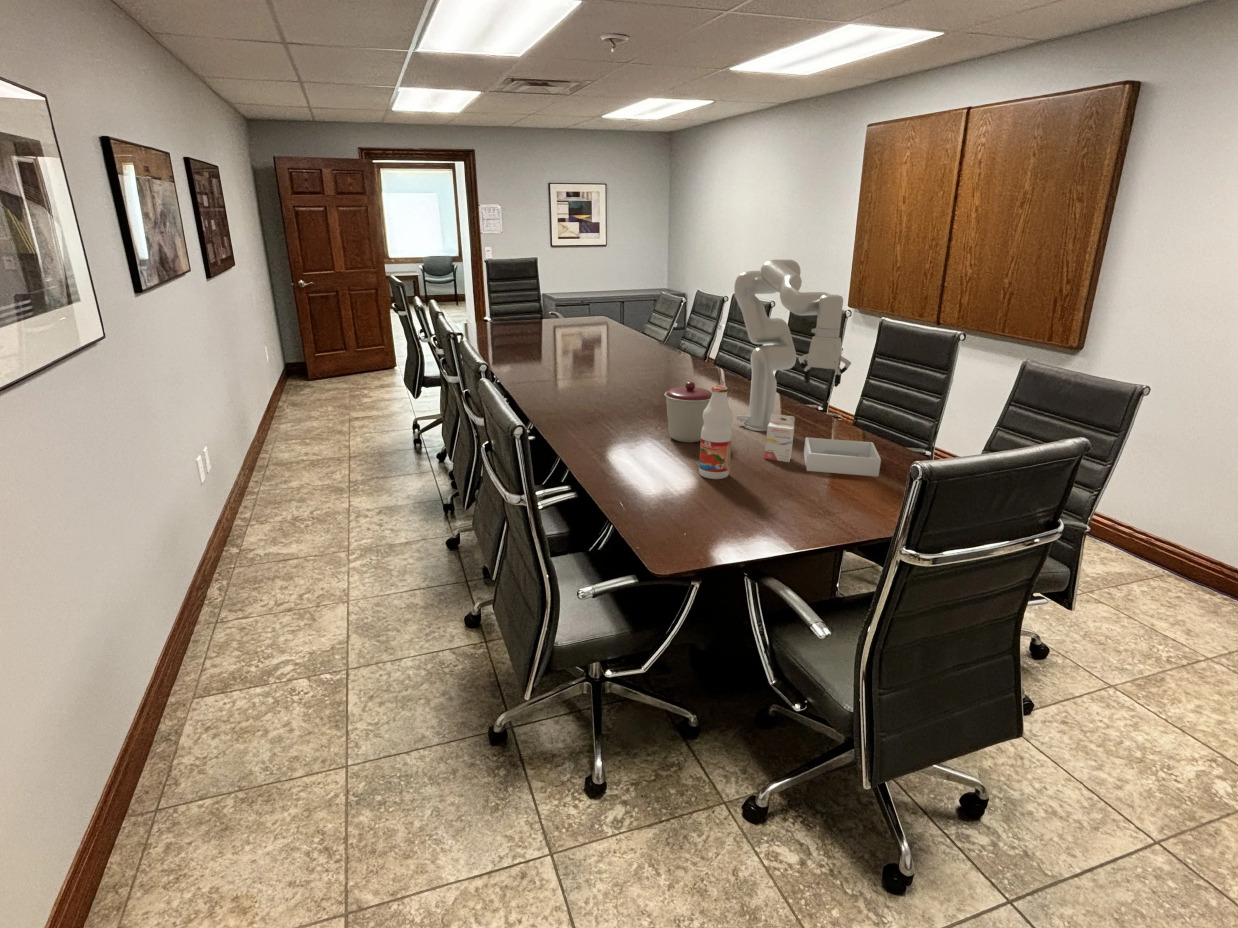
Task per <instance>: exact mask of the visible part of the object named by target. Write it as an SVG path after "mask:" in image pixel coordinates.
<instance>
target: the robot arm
mask: <svg viewBox="0 0 1238 928" xmlns="http://www.w3.org/2000/svg"><path fill="white" fill-rule="evenodd" d="M802 282H803V281H802V278H801V267H800V265H799V263H798V262H797V261H795V260H793V259H770V260H767V261H766V262H764V263H763V264H762V266H761V267H760V270H748V271H743V272H741V273H740V274H739V275H738V276H737V277H736V279H735V281H734V298H735V300H736V302H737V304H738V307H739V308H740V312H741V313H742V317H743V321H744V326H745V329H746V333H747V336H748V339H749V341H750V342H751V343H752V344H754V345H760V346H757V347H755V348H754V349H753V350H752V352H751V353H750V367H751V381H750V382H751V383H750V394H749V406H748V407H749V408H748V413H747V414H744V415H740V414H739V415H738V414H737V415H736V421H739V422H744V423H743V427H744V428H745V429H747V430H751V431H755V432H767V428H768V425H769V423H770V416H771V414H775V407H776V406H775V405H776V398H777V383H778V382H777V379H776V376H775V374H774V371H785V370H789V369H790V370H791V369H792V368H793V367H794V366H795V364H796V361H797V359H798V362H799V363H800V366H801V368H802V370H804V382H805V383H804V384H809V383H810V382H811V377H812V376H811V375H812V370H811V368H817V369H826V370H827V369H828V370H834V372H835V373H836V374H835V375H834V382H833V383H834V384H833V387H835V388H837V387H838V386H839V385H841V381H842V380H841V379H842V374H844V372H846V371H847V370H848V369H849V368H850V366H851V365H852V362H851V361H850V360H848V359H847V358H845V357H844V356H843V355H842V338H841V337H840V331H841V323H842V315H843V306H844V298H843V296H842V295H839V294H830V293H828V292H826V291H825V292H824V291H810V292H809V291H807V292H806V291H805V292H804V291H803V292H801V291H800V289H801V288H802V284H803V283H802ZM776 293H779V298H780V303H781V304H782V306H783V307H784V308H785V309H787V311H789V312H790V313H792V314H793V315H796V316H817V318H816V327H815V328H811V333H813V334H814V336H812V338H811V341H810V346H809V350H808V353H806V354H803V355H801V356H798V358H797V352H796V348H795V345H794V340H793V337H792V334H791V330H790V327H789V324H788V323H787V322H786V321H785V320H784V319H782V318H778V317H768V314H767V312H766V308H765V305H764V303H763V302H762V301H761V299H759V298H758V297H757V296H756V295H761V294H762V295H765V294H776ZM805 359H807V363H806V362H805ZM841 363H844V366H843V367H842V368H841V367H840V366H841Z"/></svg>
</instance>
